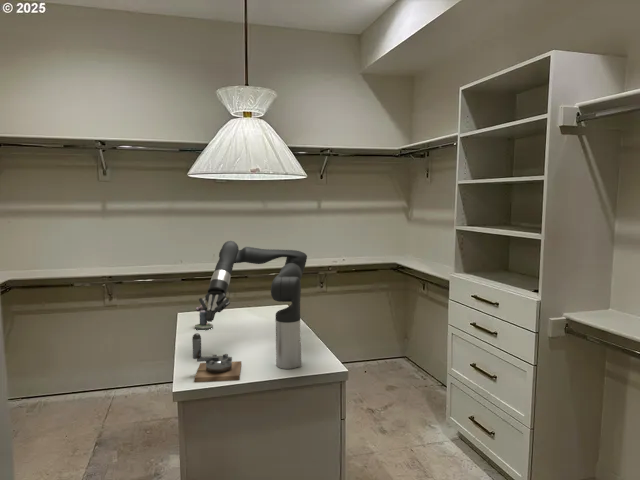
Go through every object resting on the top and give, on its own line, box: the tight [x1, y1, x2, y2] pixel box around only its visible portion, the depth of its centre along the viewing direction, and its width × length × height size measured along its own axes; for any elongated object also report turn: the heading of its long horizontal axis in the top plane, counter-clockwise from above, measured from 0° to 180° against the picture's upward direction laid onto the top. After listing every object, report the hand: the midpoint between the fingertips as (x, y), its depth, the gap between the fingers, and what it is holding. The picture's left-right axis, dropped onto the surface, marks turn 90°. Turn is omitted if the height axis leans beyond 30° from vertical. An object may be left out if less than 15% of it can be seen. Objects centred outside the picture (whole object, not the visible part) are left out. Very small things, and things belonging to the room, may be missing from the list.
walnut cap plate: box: [194, 360, 242, 383], centre depth 160 cm, size 15×14×2 cm
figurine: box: [194, 304, 214, 331], centre depth 217 cm, size 8×8×12 cm
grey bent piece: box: [191, 333, 233, 373], centre depth 159 cm, size 14×9×13 cm, turn 95°
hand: (208, 320), depth 173 cm, fingers closed
